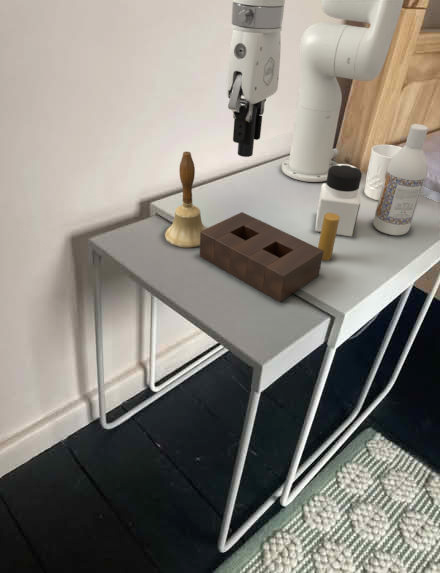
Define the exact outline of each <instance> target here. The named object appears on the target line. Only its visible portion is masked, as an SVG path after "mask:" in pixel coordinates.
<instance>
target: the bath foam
mask: <svg viewBox="0 0 440 573" xmlns="http://www.w3.org/2000/svg"><path fill="white" fill-rule="evenodd" d="M428 131H429V127H428V126H426V125H424V124H420V123H413V124H411V125H410V127H409V132H408V134H407V138H406V140H405V141H406V142H405V145H404V146H403V147H401V148H402V149H401V150H400V151H398V152H397V153H396V154H395V156H394V157H393V158H392V159H391V161H390V163H389V165H388V168H387V171H386V175H385V179H384V182H383V186H382V190H381V194H380V198H379V200H377V201H378V202H377V205H376V209H375V212H374V213H375V214H374V217H373V223H372V224H373V226H374V228H375V229H376V230H377V231H379V232H381V233H383V234H386V235H390V236H403V235H405V234H407V233H408V232H409V231H410V228H411V225H412V222H413V219H414V216H415V213H416V209H417V206H418V203H419V199H420V196H421V193H422V190H423V187H424V184H425V181H426V179H427V178H426V177H427V173H428V162H427V158H426V155H425V152H424V149H423V147H424V144H425V140H426V137H427V134H428Z"/></svg>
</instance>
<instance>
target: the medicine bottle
mask: <svg viewBox="0 0 440 573" xmlns="http://www.w3.org/2000/svg"><path fill="white" fill-rule="evenodd" d="M362 176H363V173H362V171H361V169H359V168H358V167H356V166H354V165H351V164H348V163H337V164H333V165H332V166H331V167H330V168H329V170H328V176H327V181H325V182H324V183H322V184H321V189H320V194H319V200H318V205H317V209H316V210H317V211H316V217H315V225H314V226H315V227H314V231H315V232H316V233H321V229H322V224H323V219H324V215H325V214H326V213H334V214H337V215H338V216H339V217H340V219H339V224H338V228H337V233H336V236H337V235H338V236H345V237H353V235H354V232H355V228H356V224H357V220H358V215H359V211H360V207H361V195H360V194H361V193H360V185H361V182H362Z"/></svg>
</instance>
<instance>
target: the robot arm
mask: <svg viewBox="0 0 440 573" xmlns="http://www.w3.org/2000/svg"><path fill="white" fill-rule="evenodd" d="M285 2H286V0H232V11H231V22H230V23H231V25H230V28H231V29H232V34H231V39H230V45H229V53H228V62H227V71H226V72H227V73H226V88H225V90H226V97H227V98H228V99H229V101H228V104H227V108H228V109H229V110H230V111H232V113H233V115H232V117H233V119H234V120H233V133H232V135H233V136H232V141H233V143H236V144H238V143H240V144H244V145H250V144H251V142H252V131H253V121H252V120H251V118H252V109H253V105H254V106H256V107H257V114H256V125H255V135H254V141H255V140H256V141H258V140H260V139H261V133H262V123H263V115H264V112H265V104H266V101H267V99H269V97H272V96H273V95H275V94H276V93H277V91H278V88H279V80H280V79H279V77H280V67H281V66H280V64H281V50H282V49H281V47H282V45H281V44H282V41H281V32H282V29H283V21H284V20H283V19H284V10H285V4H286V3H285ZM403 4H404V0H321V9H322V12H323V13H324V14H325V15H327V16H328V17H330V18H333V19H339V20H344V21H351V22H359V23H366V24H368V25H369V27H364V26H363V27H362V26H355V25H350V24H345V23H344V24H343V23H335V22H315V23H313V24H311V25H310V26H308V27H307V28H306V29H305V30H304V31H303V34H302V36H301V39H300V42H299V84H298V93H297V100H296V107H295V114H294V122H293V123H294V124H293V128H292V137H291V143H290V144H291V145H290V152H289V158H288V159H286V160H283V162H282V163H281V171H282V173H283V174H284V175H286V176H287V177H289V178H291V179H294V180H297V181H301V182H306V183H322V182H326V181H327V176H328V170H329V168H330V167H331V166H333V165H332V164H331V161H332V160H333V159H334V158H336V157H338V156H339V155H340V150H339V149H338V148H334V144H335V139H336V138H335V137H336V133H337V128H338V122H339V119H340V118H339V117H340V111H341V108H342V101H343V95H342V89H341V86H340V84H339V82H338V79H337V78H342V79H349V80H355V81H359V82H371V81H374V80H375V79H376V78H378V77H379V75H380V73H381V71H382V69H383V68H384V66H385V63H386V59H387V56H388V53H389V49H390V46H391V43H392V40H393V37H394V34H395V31H396V28H397V25H398V22H399V19H400V15H401V11H402V8H403ZM242 96H243V97H244V98H242ZM242 105H247V109H246V108H245V106H242Z"/></svg>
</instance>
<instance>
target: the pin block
mask: <svg viewBox="0 0 440 573" xmlns="http://www.w3.org/2000/svg"><path fill="white" fill-rule="evenodd" d="M323 252H324V251H323V250H321V249H319V248H318V246H315V245H313V244H311V243H308V242H306V241H304V240H302V239H300V238H298V237H296V236H294V235H292V234H289V233H287V232H285V231H284V230H281V229H279V228H277V227H274V226H273V225H271V224H268V223H267V222H265V221H262V220H260V219H258V218H256V217H253V216H252V215H249V214H247V213H245V212H244V211H241V212H239V213H236V214H234V215H233V216H230V217H228V218H226V219H224V220H222V221H219V222H218V223H216V224H213V225H211V226H209V227H206V229H205V230H203V231H201V232H200V246H199V257H200V258H202V259H203V260H205V261H206V262H209V263H210V264H213V265H214V266H215V267H217V268H218V269H221V270H222V271H224V272H226V273H228V274H229V275H231V276H232V277H235V278H237V279H238V280H239V281H242V282H244V283H245V284H247V285H248V286H251V287H253V288H254V289H255V290H257V291H259V292H261V293H263V294H265V295H266V296H268V297H270V298H272V299H274V300H275V301H276V302H279V303H281V302H283V301H284V300H285V299H287V298H289V297H290V296H291V295H293V294H294V293H296V292H297V291H299V290H300V289H302V288H303V287H305V286H306V285H308V284H309V283H310V282H312V281H314V280H315V279H316V278H317V277H319V276H320V271H321V268H322V262H323V260H322V257H323Z"/></svg>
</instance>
